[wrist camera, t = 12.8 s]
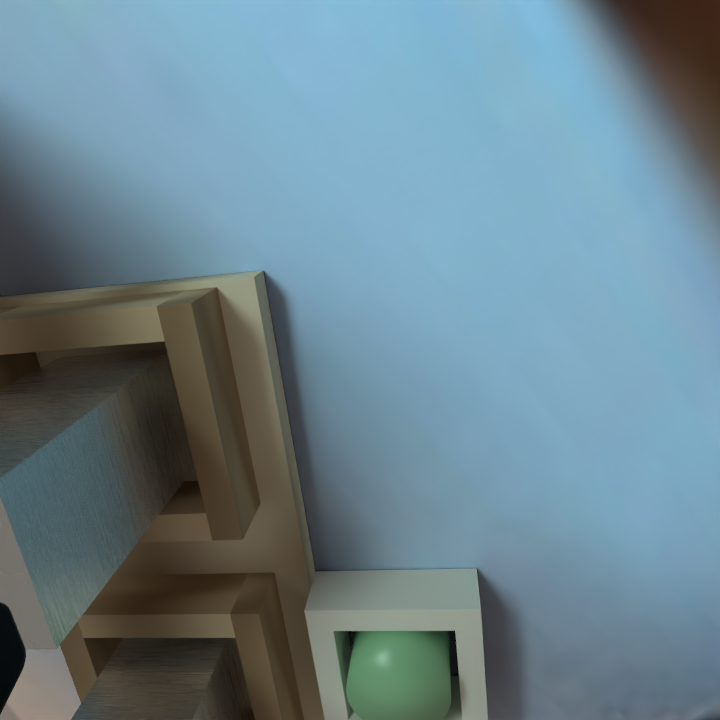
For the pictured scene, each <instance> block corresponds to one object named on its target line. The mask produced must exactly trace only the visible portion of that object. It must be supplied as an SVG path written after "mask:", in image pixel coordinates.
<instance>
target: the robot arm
mask: <svg viewBox="0 0 720 720" xmlns="http://www.w3.org/2000/svg"><path fill="white" fill-rule="evenodd" d="M25 658H26V651H25V646H24V644H23V641H22V638H21V636H20V633H19V631H18V628H17V626H16V623H15V621H14V618H13V615H12V613H11V611H10V609H9V607H8V606H7V605H5V604H4V603H1V602H0V714H1V712H2V710H3V708H4V706H5V704H6V702H7V700H8V698H9V696H10V694H11V692H12V690H13V688H14V686H15V684H16V682H17V680H18V678H19V676H20V674H21V672H22V669H23V667H24V663H25Z"/></svg>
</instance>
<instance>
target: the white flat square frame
mask: <svg viewBox="0 0 720 720" xmlns="http://www.w3.org/2000/svg"><path fill="white" fill-rule="evenodd" d="M304 611H305V617H306V622H307V627H308V633H309V638H310V643H311V649H312V654H313V660H314V665H315V670H316V676H317V681H318V686H319V692H320V697H321V702H322V708H323V713H324V719H325V720H362V719H361V718H360V717H359V716H358V715H357V714H356V713H355V712H354V710H353V709H352V707H351V706H350V704H349V702H348V699H347V695H346V685H347V679H348V672H349V666H350V660H351V654H352V652H351V646H350V639H349V633H348V631H455V635H456V647H457V659H458V671H459V676H450V681H451V704H450V708H449V711H448V713H447V715H446V716H445V717H444V719H443V720H488V713H487V697H486V681H485V665H484V650H483V634H482V618H481V605H480V596H479V586H478V577H477V568H476V569H421V570H366V571H315V575H314V578H313V582H312V585H311V589H310V592H309V596H308V599H307V603H306V607H305V610H304Z"/></svg>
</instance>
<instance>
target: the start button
mask: <svg viewBox="0 0 720 720" xmlns="http://www.w3.org/2000/svg"><path fill="white" fill-rule="evenodd" d="M346 695H347V699H348V702H349V704H350V706H351V707H352V709H353V710H354V712H355V713H356V714H357V715H358V716H359V717H360V718H361V719H362V720H443V719H444V717H445V716H446V715H447V713H448V711H449V708H450V704H451V681H450V652H449V635H448V631H355V635H354V641H353V648H352V654H351V660H350V666H349V672H348V679H347V685H346Z"/></svg>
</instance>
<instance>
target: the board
mask: <svg viewBox="0 0 720 720" xmlns="http://www.w3.org/2000/svg"><path fill="white" fill-rule="evenodd" d="M156 349H167V353H168V357H169V361H170V365H171V369H172V374H173V378H174V382H175V386H176V390H177V394H178V399H179V403H180V407H181V411H182V415H183V420H184V424H185V428H186V432H187V436H188V441H189V445H190V449H191V453H192V457H193V462H194V466H195V467H194V469H193V470H192V471H191V473H190V474H189V475H188V477H187V478H186V479H185V481H184V482H183V483H182V485H181V486H180V487H179V489H178V490H177V491H176V492H175V494H174V495H173V496H172V498H171V499H170V500H169V502H168V503H167V504H166V506H165V507H164V508H163V510H162V511H161V512H160V514H159V515H158V516H157V517H156V519H155V520H154V521H153V523H152V524H151V525H150V527H149V528H148V529H147V531H146V532H145V533H144V535H143V536H142V537H141V539H140V540H139V541H138V542H137V544H136V545H135V546H134V548H133V549H132V550H131V552H130V553H129V554H128V556H127V557H126V558H125V560H124V561H123V562H122V564H121V565H120V566H119V567H118V569H117V570H116V571H115V573H114V574H113V575H112V577H111V578H110V579H109V581H108V582H107V583H106V585H105V586H104V587H103V589H102V590H101V591H100V592H99V594H98V595H97V596H96V598H95V599H94V600H93V602H92V603H91V604H90V606H89V607H88V608H87V610H86V611H85V612H84V614H83V615H82V616H81V617H80V619H79V620H78V621H77V623H76V624H75V625H74V627H73V628H72V629H71V631H70V632H69V633H68V635H67V636H66V637H65V639H64V640H63V641H62V642H61V644H60V646H61V649H62V652H63V654H64V657H65V660H66V663H67V665H68V668H69V671H70V673H71V676H72V679H73V682H74V684H75V687H76V690H77V693H78V695H79V698H80V701H81V703H82V701H83V700H84V698H85V697H86V695H87V694H88V692H89V691H90V689H91V687H92V686H93V684H94V683H95V681H96V680H97V678H98V676H99V675H100V673H101V672H102V670H103V669H104V667H105V665H106V664H107V662H108V661H109V659H110V658H111V656H112V655H113V653H114V651H115V650H116V648H117V647H118V645H119V644H120V642H121V640H122V639H123V638H236V642H237V646H238V650H239V654H240V659H241V663H242V667H243V671H244V675H245V680H246V684H247V688H248V692H249V696H250V700H251V705H252V710H251V713H250V716H249V719H248V720H325V719H324V713H323V708H322V702H321V697H320V692H319V686H318V681H317V676H316V670H315V665H314V660H313V654H312V649H311V643H310V638H309V633H308V627H307V622H306V617H305V611H304V610H305V607H306V603H307V599H308V596H309V592H310V589H311V585H312V582H313V578H314V575H315V566H314V561H313V555H312V549H311V543H310V538H309V532H308V526H307V520H306V515H305V509H304V503H303V497H302V492H301V486H300V480H299V474H298V469H297V463H296V457H295V451H294V446H293V440H292V434H291V428H290V422H289V417H288V411H287V405H286V399H285V394H284V388H283V382H282V376H281V371H280V365H279V359H278V353H277V348H276V342H275V336H274V330H273V325H272V319H271V313H270V307H269V302H268V296H267V290H266V284H265V279H264V273H263V271H254V272H244V273H234V274H224V275H214V276H204V277H194V278H184V279H173V280H163V281H153V282H143V283H133V284H123V285H113V286H103V287H93V288H83V289H73V290H63V291H53V292H43V293H33V294H23V295H13V296H3V297H0V390H1V389H2V388H4V387H6V386H8V385H10V384H12V383H13V382H15V381H17V380H19V379H21V378H23V377H24V376H26V375H28V374H30V373H32V372H34V371H35V370H37V369H39V368H41V367H43V366H45V365H47V364H48V363H50V362H52V361H54V360H56V359H58V358H59V357H70V356H82V355H94V354H107V353H119V352H131V351H144V350H156Z"/></svg>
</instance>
